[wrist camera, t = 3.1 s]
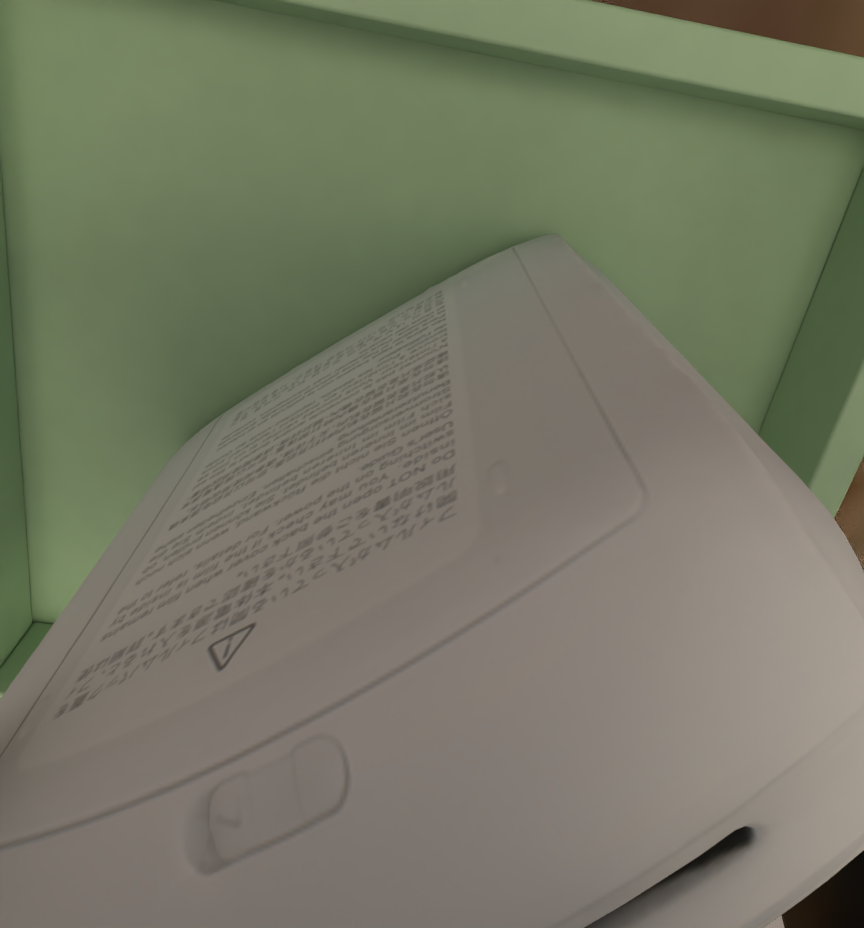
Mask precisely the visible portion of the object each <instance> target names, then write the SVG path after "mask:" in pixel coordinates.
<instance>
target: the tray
mask: <svg viewBox="0 0 864 928" xmlns="http://www.w3.org/2000/svg"><path fill="white" fill-rule="evenodd" d="M554 233H555V234H559V235H560V236H561V237H562V238H563V239H564V240H565V241H566V242H567V244H568V245H569V246H570V247H571V248H572V249H573V250H574V251H575V253H577V254H579V255H580V256H582V257H584V258H585V259H587V260H588V261H590V262H591V263H593V264H594V265H595V266H596V267H597V268H598V269H599V270H600V271H601V272H602V273H603V274H604V275H605V276H606V277H607V278H608V279H609V280H610V281H611V282H612V283H613V284H614V285H615V286H616V287H617V288H618V289H619V290H620V291H621V292H622V293H623V294H624V295H625V296H626V297H627V298H628V300H629V301H630V302H631V303H632V304H633V305H634V306H635V307H636V308H637V309H638V310H639V311H640V312H641V313H642V314H643V315H644V316H645V317H646V318H647V319H648V320H649V321H650V322H651V323H652V324H653V325H654V326H655V327H656V328H657V330H658V331H659V332H660V333H661V334H662V335H663V336H664V337H665V338H666V339H667V340H668V341H669V342H670V343H671V344H672V346H673V347H674V348H675V349H676V350H677V351H678V352H679V353H680V354H681V355H682V356H683V357H684V358H685V359H686V360H687V361H688V362H689V363H690V364H691V365H692V366H693V367H694V368H695V369H696V370H697V371H698V373H699V374H700V375H701V376H702V377H703V378H704V379H705V380H706V381H707V382H708V383H709V384H710V385H711V386H712V387H713V388H714V389H715V390H716V392H717V393H718V394H719V395H720V396H721V397H722V398H723V399H724V400H725V401H726V402H727V403H728V404H729V405H730V406H731V407H732V408H733V409H734V410H735V411H736V412H737V413H738V414H739V415H740V416H741V417H742V418H743V419H744V420H745V421H746V423H747V424H748V425H749V426H750V427H751V428H752V429H753V430H754V431H755V432H756V433H757V434H758V435H759V437H760V438H761V439H762V440H763V441H764V442H765V443H766V444H767V445H768V446H769V447H770V448H771V449H772V450H773V451H774V452H775V453H776V454H777V455H778V456H779V457H780V458H781V459H782V460H783V461H784V462H785V463H786V464H787V465H788V466H789V468H790V469H791V470H792V471H793V472H794V473H795V474H796V475H797V476H798V477H799V478H800V479H801V480H802V481H803V482H804V483H805V485H806V486H807V487H808V488H809V489H810V490H811V491H812V493H813V494H814V495H815V496H816V497H817V498H818V499H819V500H820V502H821V503H822V504H823V505H824V506H825V507H826V508H827V510H828V511H829V512H830V514H831V515H832V517H833V518H835V516H836V514H837V512H838V510H839V507H840V505H841V503H842V501H843V499H844V497H845V495H846V492H847V490H848V488H849V486H850V484H851V482H852V479H853V477H854V475H855V473H856V471H857V469H858V467H859V464H860V462H861V460H862V458H863V456H864V57H860V56H855V55H850V54H845V53H840V52H836V51H831V50H826V49H821V48H816V47H812V46H807V45H802V44H797V43H792V42H788V41H783V40H778V39H773V38H768V37H764V36H759V35H754V34H749V33H744V32H740V31H735V30H730V29H725V28H720V27H716V26H711V25H706V24H701V23H696V22H692V21H687V20H682V19H677V18H673V17H668V16H663V15H658V14H653V13H649V12H644V11H639V10H634V9H629V8H625V7H620V6H615V5H610V4H605V3H601V2H596V1H591V0H0V699H1V698H2V696H3V695H4V694H5V692H6V691H7V689H8V688H9V686H10V684H11V683H12V682H13V680H14V679H15V678H16V676H17V675H18V674H19V672H20V671H21V669H22V668H23V666H24V665H25V663H26V662H27V660H28V659H29V658H30V656H31V655H32V653H33V652H34V651H35V650H36V648H37V647H38V646H39V644H40V643H41V641H42V640H43V638H44V637H45V636H46V634H47V633H48V631H49V630H50V628H51V627H52V625H53V624H54V623H55V621H56V620H57V618H58V617H59V616H60V614H61V613H62V612H63V610H64V609H65V607H66V606H67V604H68V603H69V602H70V600H71V599H72V597H73V596H74V594H75V593H76V591H77V590H78V588H79V587H80V586H81V584H82V583H83V581H84V580H85V579H86V577H87V576H88V574H89V573H90V572H91V570H92V569H93V567H94V566H95V564H96V563H97V561H98V560H99V559H100V557H101V556H102V554H103V553H104V551H105V550H106V549H107V547H108V546H109V544H110V543H111V541H112V540H113V539H114V537H115V536H116V534H117V533H118V532H119V530H120V529H121V527H122V526H123V524H124V523H125V522H126V520H127V519H128V517H129V516H130V514H131V513H132V511H133V510H134V509H135V507H136V506H137V504H138V503H139V501H140V500H141V498H142V497H143V496H144V494H145V493H146V491H147V490H148V488H149V487H150V485H151V484H152V482H153V481H154V479H155V478H156V477H157V475H158V474H159V472H160V471H161V469H162V468H163V467H164V466H165V464H166V463H167V462H168V461H169V459H170V458H171V457H172V456H173V455H174V454H175V453H176V452H177V451H178V450H179V449H180V448H181V447H182V446H183V445H184V444H185V443H186V442H187V441H188V440H189V439H191V438H192V437H193V436H194V435H195V434H196V433H198V432H199V431H200V430H201V429H203V428H204V427H205V426H206V425H208V424H209V423H210V422H212V421H213V420H214V419H216V418H217V417H219V416H220V415H222V414H223V413H225V412H226V411H228V410H229V409H231V408H232V407H234V406H235V405H237V404H238V403H240V402H241V401H243V400H244V399H246V398H247V397H249V396H250V395H252V394H253V393H255V392H257V391H258V390H260V389H261V388H263V387H265V386H266V385H268V384H270V383H271V382H273V381H275V380H276V379H278V378H280V377H281V376H283V375H284V374H286V373H287V372H289V371H290V370H292V369H293V368H295V367H297V366H298V365H300V364H302V363H304V362H306V361H307V360H309V359H311V358H312V357H314V356H316V355H317V354H319V353H321V352H322V351H324V350H325V349H327V348H329V347H330V346H332V345H334V344H335V343H337V342H339V341H340V340H342V339H344V338H346V337H347V336H349V335H351V334H352V333H354V332H356V331H358V330H359V329H361V328H363V327H365V326H366V325H368V324H370V323H372V322H373V321H375V320H377V319H378V318H380V317H382V316H384V315H385V314H387V313H389V312H390V311H392V310H394V309H396V308H397V307H399V306H401V305H402V304H404V303H406V302H408V301H409V300H411V299H413V298H415V297H416V296H418V295H420V294H422V293H423V292H425V291H426V290H427V289H428V288H430V287H432V286H435V285H437V284H439V283H441V282H443V281H445V280H446V279H448V278H450V277H452V276H454V275H456V274H457V273H459V272H461V271H463V270H464V269H466V268H468V267H470V266H472V265H474V264H476V263H478V262H480V261H482V260H484V259H486V258H487V257H490V256H492V255H494V254H497V253H499V252H501V251H504V250H506V249H508V248H510V247H513V246H515V245H518V244H521V243H524V242H527V241H530V240H532V239H535V238H538V237H541V236H545V235H548V234H554Z"/></svg>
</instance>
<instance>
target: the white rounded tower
mask: <svg viewBox="0 0 864 928" xmlns="http://www.w3.org/2000/svg"><path fill="white" fill-rule="evenodd" d="M863 850H864V572H863V569H862V567H861V564H860V562H859V560H858V558H857V556H856V555H855V553H854V551H853V549H852V547H851V545H850V543H849V542H848V540H847V538H846V536H845V535H844V533H843V532H842V530H841V529H840V527H839V526H838V524H837V523H836V521H835V520H834V518H833V517H832V515H831V514H830V512H829V511H828V510H827V508H826V507H825V506H824V505H823V504H822V503H821V502H820V500H819V499H818V498H817V497H816V496H815V495H814V494H813V493H812V491H811V490H810V489H809V488H808V487H807V486H806V485H805V483H804V482H803V481H802V480H801V479H800V478H799V477H798V476H797V475H796V474H795V473H794V472H793V471H792V470H791V469H790V468H789V466H788V465H787V464H786V463H785V462H784V461H783V460H782V459H781V458H780V457H779V456H778V455H777V454H776V453H775V452H774V451H773V450H772V449H771V448H770V447H769V446H768V445H767V444H766V443H765V442H764V441H763V440H762V439H761V438H760V437H759V435H758V434H757V433H756V432H755V431H754V430H753V429H752V428H751V427H750V426H749V425H748V424H747V423H746V421H745V420H744V419H743V418H742V417H741V416H740V415H739V414H738V413H737V412H736V411H735V410H734V409H733V408H732V407H731V406H730V405H729V404H728V403H727V402H726V401H725V400H724V399H723V398H722V397H721V396H720V395H719V394H718V393H717V392H716V390H715V389H714V388H713V387H712V386H711V385H710V384H709V383H708V382H707V381H706V380H705V379H704V378H703V377H702V376H701V375H700V374H699V373H698V371H697V370H696V369H695V368H694V367H693V366H692V365H691V364H690V363H689V362H688V361H687V360H686V359H685V358H684V357H683V356H682V355H681V354H680V353H679V352H678V351H677V350H676V349H675V348H674V347H673V346H672V344H671V343H670V342H669V341H668V340H667V339H666V338H665V337H664V336H663V335H662V334H661V333H660V332H659V331H658V330H657V328H656V327H655V326H654V325H653V324H652V323H651V322H650V321H649V320H648V319H647V318H646V317H645V316H644V315H643V314H642V313H641V312H640V311H639V310H638V309H637V308H636V307H635V306H634V305H633V304H632V303H631V302H630V301H629V300H628V298H627V297H626V296H625V295H624V294H623V293H622V292H621V291H620V290H619V289H618V288H617V287H616V286H615V285H614V284H613V283H612V282H611V281H610V280H609V279H608V278H607V277H606V276H605V275H604V274H603V273H602V272H601V271H600V270H599V269H598V268H597V267H596V266H595V265H594V264H593V263H591V262H590V261H588V260H587V259H585V258H584V257H582V256H580V255H579V254H577V253H575V251H574V250H573V249H572V248H571V247H570V246H569V245H568V244H567V242H566V241H565V240H564V239H563V238H562V237H561V236H560V235H559V234H555V233H554V234H548V235H545V236H541V237H538V238H535V239H532V240H530V241H527V242H524V243H521V244H518V245H515V246H513V247H510V248H508V249H506V250H504V251H501V252H499V253H497V254H494V255H492V256H490V257H487V258H486V259H484V260H482V261H480V262H478V263H476V264H474V265H472V266H470V267H468V268H466V269H464V270H463V271H461V272H459V273H457V274H456V275H454V276H452V277H450V278H448V279H446V280H445V281H443V282H441V283H439V284H437V285H435V286H432V287H430V288H428V289H427V290H426V291H425V292H423V293H422V294H420V295H418V296H416V297H415V298H413V299H411V300H409V301H408V302H406V303H404V304H402V305H401V306H399V307H397V308H396V309H394V310H392V311H390V312H389V313H387V314H385V315H384V316H382V317H380V318H378V319H377V320H375V321H373V322H372V323H370V324H368V325H366V326H365V327H363V328H361V329H359V330H358V331H356V332H354V333H352V334H351V335H349V336H347V337H346V338H344V339H342V340H340V341H339V342H337V343H335V344H334V345H332V346H330V347H329V348H327V349H325V350H324V351H322V352H321V353H319V354H317V355H316V356H314V357H312V358H311V359H309V360H307V361H306V362H304V363H302V364H300V365H298V366H297V367H295V368H293V369H292V370H290V371H289V372H287V373H286V374H284V375H283V376H281V377H280V378H278V379H276V380H275V381H273V382H271V383H270V384H268V385H266V386H265V387H263V388H261V389H260V390H258V391H257V392H255V393H253V394H252V395H250V396H249V397H247V398H246V399H244V400H243V401H241V402H240V403H238V404H237V405H235V406H234V407H232V408H231V409H229V410H228V411H226V412H225V413H223V414H222V415H220V416H219V417H217V418H216V419H214V420H213V421H212V422H210V423H209V424H208V425H206V426H205V427H204V428H203V429H201V430H200V431H199V432H198V433H196V434H195V435H194V436H193V437H192V438H191V439H189V440H188V441H187V442H186V443H185V444H184V445H183V446H182V447H181V448H180V449H179V450H178V451H177V452H176V453H175V454H174V455H173V456H172V457H171V458H170V459H169V461H168V462H167V463H166V464H165V466H164V467H163V468H162V469H161V471H160V472H159V474H158V475H157V477H156V478H155V479H154V481H153V482H152V484H151V485H150V487H149V488H148V490H147V491H146V493H145V494H144V496H143V497H142V498H141V500H140V501H139V503H138V504H137V506H136V507H135V509H134V510H133V511H132V513H131V514H130V516H129V517H128V519H127V520H126V522H125V523H124V524H123V526H122V527H121V529H120V530H119V532H118V533H117V534H116V536H115V537H114V539H113V540H112V541H111V543H110V544H109V546H108V547H107V549H106V550H105V551H104V553H103V554H102V556H101V557H100V559H99V560H98V561H97V563H96V564H95V566H94V567H93V569H92V570H91V572H90V573H89V574H88V576H87V577H86V579H85V580H84V581H83V583H82V584H81V586H80V587H79V588H78V590H77V591H76V593H75V594H74V596H73V597H72V599H71V600H70V602H69V603H68V604H67V606H66V607H65V609H64V610H63V612H62V613H61V614H60V616H59V617H58V618H57V620H56V621H55V623H54V624H53V625H52V627H51V628H50V630H49V631H48V633H47V634H46V636H45V637H44V638H43V640H42V641H41V643H40V644H39V646H38V647H37V648H36V650H35V651H34V652H33V653H32V655H31V656H30V658H29V659H28V660H27V662H26V663H25V665H24V666H23V668H22V669H21V671H20V672H19V674H18V675H17V676H16V678H15V679H14V680H13V682H12V683H11V684H10V686H9V688H8V689H7V691H6V692H5V694H4V695H3V696H2V698H1V699H0V928H764V927H766V926H767V925H768V924H770V923H771V922H773V921H774V920H775V919H776V918H778V917H779V916H781V915H782V914H784V913H785V912H786V911H788V910H789V909H790V908H792V907H793V906H795V905H796V904H797V903H799V902H800V901H801V900H803V899H804V898H805V897H807V896H808V895H809V894H811V893H812V892H813V891H815V890H816V889H817V888H819V887H820V886H821V885H822V884H824V883H825V882H826V881H828V880H829V879H830V878H831V877H832V876H834V875H835V874H836V873H837V872H838V871H839V870H841V869H842V868H843V867H844V866H845V865H847V864H848V863H849V862H850V861H851V860H853V859H854V858H855V857H856V856H857V855H858V854H860V853H861V852H862V851H863Z"/></svg>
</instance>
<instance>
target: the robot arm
mask: <svg viewBox="0 0 864 928" xmlns="http://www.w3.org/2000/svg"><path fill="white" fill-rule="evenodd" d="M782 919H783V923H784V927H785V928H864V850H863V851H862V852H861V853H860V854H858V855H857V856H856V857H855V858H854V859H853V860H851V861H850V862H849V863H848V864H847V865H845V866H844V867H843V868H842V869H841V870H839V871H838V872H837V873H836V874H835V875H834V876H832V877H831V878H830V879H829V880H828V881H826V882H825V883H824V884H822V885H821V886H820V887H819V888H817V889H816V890H815V891H813V892H812V893H811V894H809V895H808V896H807V897H805V898H804V899H803V900H801V901H800V902H799V903H797V904H796V905H795V906H793V907H792V908H790V909H789V910H788V911H786V912H785V913H784V914H782Z"/></svg>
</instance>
